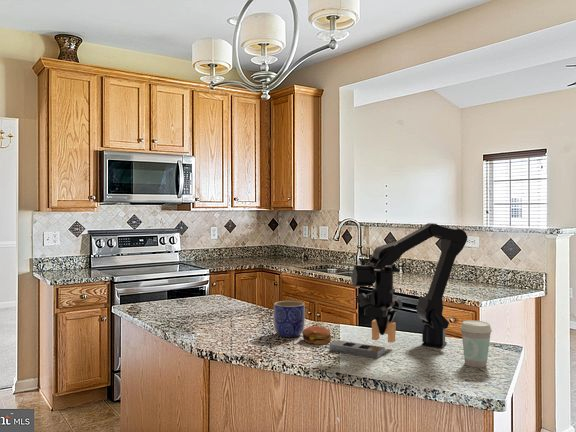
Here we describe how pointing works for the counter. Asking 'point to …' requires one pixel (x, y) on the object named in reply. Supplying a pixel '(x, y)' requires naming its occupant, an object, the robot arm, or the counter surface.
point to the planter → (289, 318)
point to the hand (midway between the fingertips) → (383, 333)
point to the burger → (316, 335)
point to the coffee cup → (475, 342)
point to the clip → (389, 330)
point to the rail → (357, 349)
